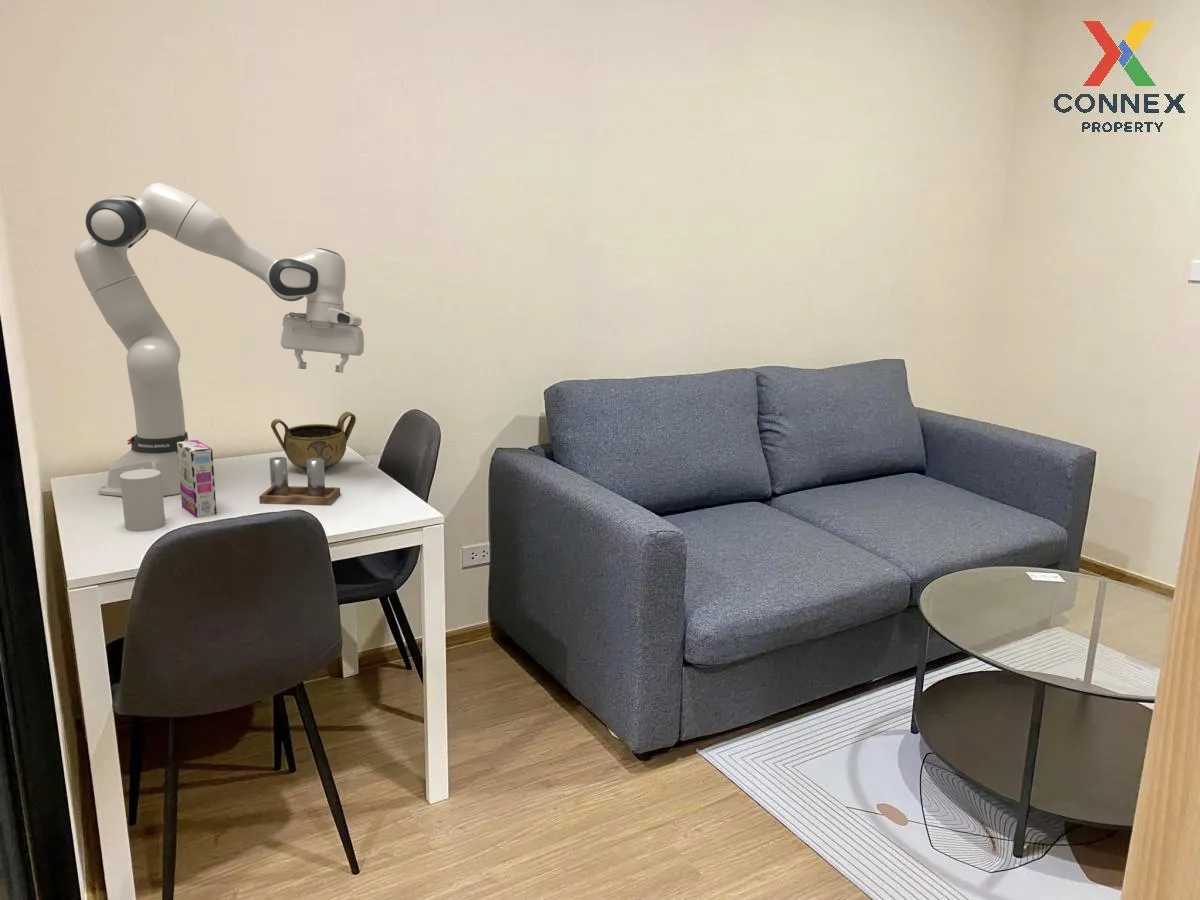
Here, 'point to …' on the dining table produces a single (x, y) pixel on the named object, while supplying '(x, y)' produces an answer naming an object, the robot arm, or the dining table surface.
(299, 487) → the tray
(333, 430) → the ceramic bowl
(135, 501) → the cup
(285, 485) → the cylinder
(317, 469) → the cylinder
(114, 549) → the dining table surface
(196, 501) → the candy bar box
